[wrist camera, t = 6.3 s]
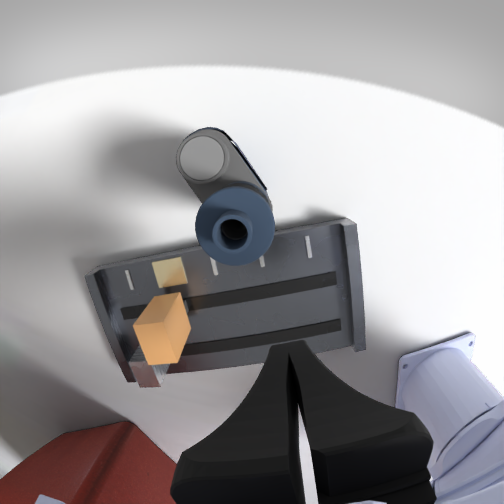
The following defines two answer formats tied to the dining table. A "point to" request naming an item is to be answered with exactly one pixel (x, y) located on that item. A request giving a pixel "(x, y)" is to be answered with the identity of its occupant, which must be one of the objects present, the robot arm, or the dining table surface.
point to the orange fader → (163, 329)
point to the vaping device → (226, 198)
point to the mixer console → (239, 300)
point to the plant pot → (93, 469)
